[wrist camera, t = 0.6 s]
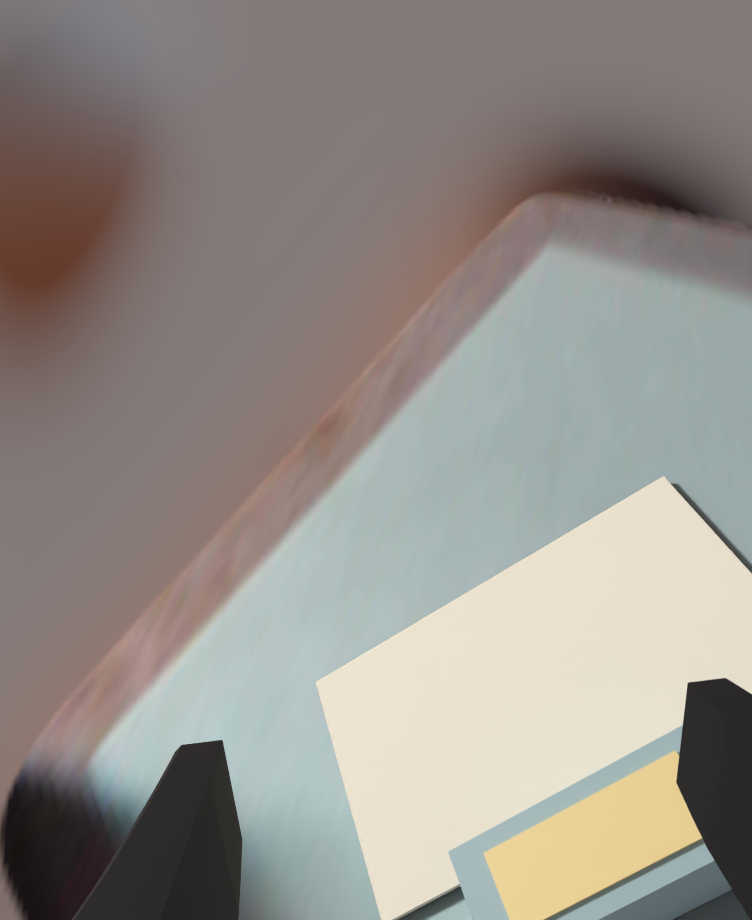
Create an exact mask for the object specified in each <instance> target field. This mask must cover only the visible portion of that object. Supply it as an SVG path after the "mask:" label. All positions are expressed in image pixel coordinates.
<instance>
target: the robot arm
mask: <svg viewBox="0 0 752 920" xmlns="http://www.w3.org/2000/svg"><path fill="white" fill-rule="evenodd" d="M676 783H677V785H678V787H679V790H680V792H681V794H682V796H683V798H684V801H685V803H686V805H687V807H688V809H689V812H690V814H691V816H692V818H693V820H694V822H695V824H696V826H697V828H698V830H699V832H700V834H701V836H702V839H703V841H704V843H705V845H706V847H707V849H708V850H709V852H710V854H711V855H712V857H713V859H714V860H715V862H716V864H717V865H718V867H719V869H720V870H721V872H722V874H723V875H724V877H725V879H726V880H727V882H728V883H729V885H730V887H731V888H732V890H733V892H734V893H735V895H736V896H737V898H738V900H739V901H740V903H741V905H742V906H743V908H744V909H745V911H746V913H747V914H748V916H749V917H750V919H751V920H752V694H751V693H749V692H748V691H746V690H744V689H743V688H741V687H740V686H738V685H736V684H735V683H733V682H732V681H730V680H728V679H727V678H720V679H712V680H704V681H696V682H688V684H687V693H686V702H685V710H684V719H683V728H682V736H681V745H680V753H679V762H678V771H677V779H676ZM241 856H242V836H241V831H240V826H239V821H238V816H237V811H236V806H235V801H234V796H233V791H232V786H231V781H230V776H229V771H228V766H227V761H226V756H225V751H224V746H223V741H222V740H219V741H211V742H203V743H194V744H186V745H181V746H180V747H179V748H178V750H177V751H176V752H175V753H174V755H173V757H172V759H171V761H170V763H169V764H168V766H167V768H166V770H165V772H164V773H163V775H162V777H161V779H160V781H159V782H158V784H157V786H156V788H155V789H154V791H153V793H152V795H151V796H150V798H149V800H148V802H147V803H146V805H145V807H144V808H143V810H142V812H141V813H140V815H139V817H138V818H137V820H136V822H135V823H134V825H133V827H132V828H131V830H130V832H129V833H128V835H127V836H126V838H125V840H124V841H123V843H122V844H121V846H120V847H119V849H118V851H117V852H116V854H115V855H114V857H113V859H112V860H111V862H110V863H109V865H108V866H107V868H106V870H105V871H104V873H103V874H102V876H101V878H100V879H99V881H98V882H97V884H96V885H95V887H94V888H93V890H92V891H91V893H90V894H89V895H88V897H87V898H86V900H85V901H84V903H83V904H82V906H81V907H80V908H79V910H78V911H77V913H76V914H75V916H74V917H73V918H72V920H238V915H239V898H240V880H241Z"/></svg>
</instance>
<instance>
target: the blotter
mask: <svg viewBox="0 0 752 920" xmlns="http://www.w3.org/2000/svg"><path fill="white" fill-rule="evenodd" d="M720 678H727V679H728V680H730V681H732V682H733V683H735V684H736V685H738V686H740V687H741V688H743V689H744V690H746V691H748V692H749V693H751V694H752V573H751V572H750V571H749V570H748V569H747V568H746V567H745V566H744V565H743V563H742V562H741V561H740V560H739V559H738V558H737V557H736V556H735V555H734V553H733V552H732V551H731V550H730V549H729V548H728V547H727V546H726V545H725V544H724V542H723V541H722V540H721V539H720V538H719V537H718V536H717V535H716V534H715V533H714V531H713V530H712V529H711V528H710V527H709V526H708V525H707V524H706V523H705V521H704V520H703V519H702V518H701V517H700V516H699V515H698V514H697V513H696V512H695V510H694V509H693V508H692V507H691V506H690V505H689V504H688V503H687V502H686V501H685V499H684V498H683V497H682V496H681V495H680V494H679V493H678V492H677V491H676V489H675V488H674V487H673V486H672V485H671V484H670V483H669V482H668V481H667V480H666V478H665V477H664V476H663V477H661V478H660V479H658V480H656V481H654V482H653V483H651V484H649V485H648V486H646V487H644V488H643V489H641V490H639V491H638V492H636V493H634V494H632V495H631V496H629V497H627V498H626V499H624V500H622V501H621V502H619V503H617V504H616V505H614V506H612V507H611V508H609V509H607V510H605V511H604V512H602V513H600V514H599V515H597V516H595V517H594V518H592V519H590V520H589V521H587V522H585V523H584V524H582V525H580V526H578V527H577V528H575V529H573V530H572V531H570V532H568V533H567V534H565V535H563V536H562V537H560V538H558V539H556V540H555V541H553V542H551V543H550V544H548V545H546V546H545V547H543V548H541V549H540V550H538V551H536V552H535V553H533V554H531V555H529V556H528V557H526V558H524V559H523V560H521V561H519V562H518V563H516V564H514V565H513V566H511V567H509V568H507V569H506V570H504V571H502V572H501V573H499V574H497V575H496V576H494V577H492V578H491V579H489V580H487V581H486V582H484V583H482V584H480V585H479V586H477V587H475V588H474V589H472V590H470V591H469V592H467V593H465V594H464V595H462V596H460V597H458V598H457V599H455V600H453V601H452V602H450V603H448V604H447V605H445V606H443V607H442V608H440V609H438V610H437V611H435V612H433V613H431V614H430V615H428V616H426V617H425V618H423V619H421V620H420V621H418V622H416V623H415V624H413V625H411V626H409V627H408V628H406V629H404V630H403V631H401V632H399V633H398V634H396V635H394V636H393V637H391V638H389V639H388V640H386V641H384V642H382V643H381V644H379V645H377V646H376V647H374V648H372V649H371V650H369V651H367V652H366V653H364V654H362V655H360V656H359V657H357V658H355V659H354V660H352V661H350V662H349V663H347V664H345V665H344V666H342V667H340V668H339V669H337V670H335V671H333V672H332V673H330V674H328V675H327V676H325V677H323V678H322V679H320V680H318V681H317V682H316V685H317V689H318V692H319V696H320V699H321V703H322V707H323V710H324V714H325V717H326V721H327V725H328V728H329V732H330V736H331V739H332V743H333V746H334V750H335V754H336V757H337V761H338V765H339V768H340V772H341V775H342V779H343V783H344V786H345V790H346V793H347V797H348V801H349V804H350V808H351V812H352V815H353V819H354V822H355V826H356V830H357V833H358V837H359V841H360V844H361V848H362V851H363V855H364V859H365V862H366V866H367V869H368V873H369V877H370V880H371V884H372V888H373V891H374V895H375V898H376V902H377V906H378V909H379V913H380V917H381V920H397V919H399V918H401V917H403V916H405V915H407V914H409V913H411V912H413V911H414V910H416V909H418V908H420V907H422V906H424V905H426V904H428V903H429V902H431V901H433V900H435V899H437V898H439V897H441V896H443V895H445V894H446V893H448V892H450V891H452V890H454V889H456V888H458V887H460V884H459V881H458V878H457V875H456V873H455V870H454V867H453V864H452V861H451V859H450V856H449V853H448V851H450V850H452V849H454V848H456V847H457V846H459V845H461V844H463V843H465V842H467V841H469V840H470V839H472V838H474V837H476V836H478V835H480V834H482V833H483V832H485V831H487V830H489V829H491V828H493V827H495V826H496V825H498V824H500V823H502V822H504V821H506V820H508V819H509V818H511V817H513V816H515V815H517V814H519V813H520V812H522V811H524V810H526V809H528V808H530V807H532V806H533V805H535V804H537V803H539V802H541V801H543V800H545V799H546V798H548V797H550V796H552V795H554V794H556V793H558V792H559V791H561V790H563V789H565V788H567V787H569V786H571V785H572V784H574V783H576V782H578V781H580V780H582V779H584V778H585V777H587V776H589V775H591V774H593V773H595V772H596V771H598V770H600V769H602V768H604V767H606V766H608V765H609V764H611V763H613V762H615V761H617V760H619V759H621V758H622V757H624V756H626V755H628V754H630V753H632V752H634V751H635V750H637V749H639V748H641V747H643V746H645V745H647V744H648V743H650V742H652V741H654V740H656V739H658V738H660V737H661V736H663V735H665V734H667V733H669V732H671V731H673V730H674V729H676V728H678V727H680V726H682V725H683V719H684V710H685V702H686V693H687V684H688V682H696V681H704V680H712V679H720Z"/></svg>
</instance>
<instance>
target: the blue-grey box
mask: <svg viewBox="0 0 752 920" xmlns="http://www.w3.org/2000/svg"><path fill="white" fill-rule="evenodd" d="M682 728H683V725H682V726H680V727H678V728H676V729H674V730H673V731H671V732H669V733H667V734H665V735H663V736H661V737H660V738H658V739H656V740H654V741H652V742H650V743H648V744H647V745H645V746H643V747H641V748H639V749H637V750H635V751H634V752H632V753H630V754H628V755H626V756H624V757H622V758H621V759H619V760H617V761H615V762H613V763H611V764H609V765H608V766H606V767H604V768H602V769H600V770H598V771H596V772H595V773H593V774H591V775H589V776H587V777H585V778H584V779H582V780H580V781H578V782H576V783H574V784H572V785H571V786H569V787H567V788H565V789H563V790H561V791H559V792H558V793H556V794H554V795H552V796H550V797H548V798H546V799H545V800H543V801H541V802H539V803H537V804H535V805H533V806H532V807H530V808H528V809H526V810H524V811H522V812H520V813H519V814H517V815H515V816H513V817H511V818H509V819H508V820H506V821H504V822H502V823H500V824H498V825H496V826H495V827H493V828H491V829H489V830H487V831H485V832H483V833H482V834H480V835H478V836H476V837H474V838H472V839H470V840H469V841H467V842H465V843H463V844H461V845H459V846H457V847H456V848H454V849H452V850H450V851H448V853H449V856H450V859H451V861H452V864H453V867H454V870H455V873H456V875H457V878H458V881H459V884H460V886H461V889H462V892H463V895H464V897H465V900H466V903H467V906H468V908H469V911H470V914H471V917H472V920H673V919H675V918H677V917H679V916H681V915H683V914H685V913H687V912H689V911H691V910H693V909H695V908H697V907H699V906H701V905H703V904H705V903H707V902H709V901H711V900H713V899H715V898H717V897H719V896H721V895H723V894H725V893H727V892H729V891H731V890H732V888H731V887H730V885H729V883H728V882H727V880H726V879H725V877H724V875H723V874H722V872H721V870H720V869H719V867H718V865H717V864H716V862H715V860H714V859H713V857H712V855H711V854H710V852H709V850H708V849H707V847H706V845H705V843H704V841H703V839H702V836H701V834H700V832H699V830H698V828H697V826H696V824H695V822H694V820H693V818H692V816H691V814H690V812H689V809H688V807H687V805H686V803H685V801H684V798H683V796H682V794H681V792H680V790H679V787H678V785H677V783H676V779H677V771H678V762H679V753H680V745H681V736H682Z"/></svg>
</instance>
